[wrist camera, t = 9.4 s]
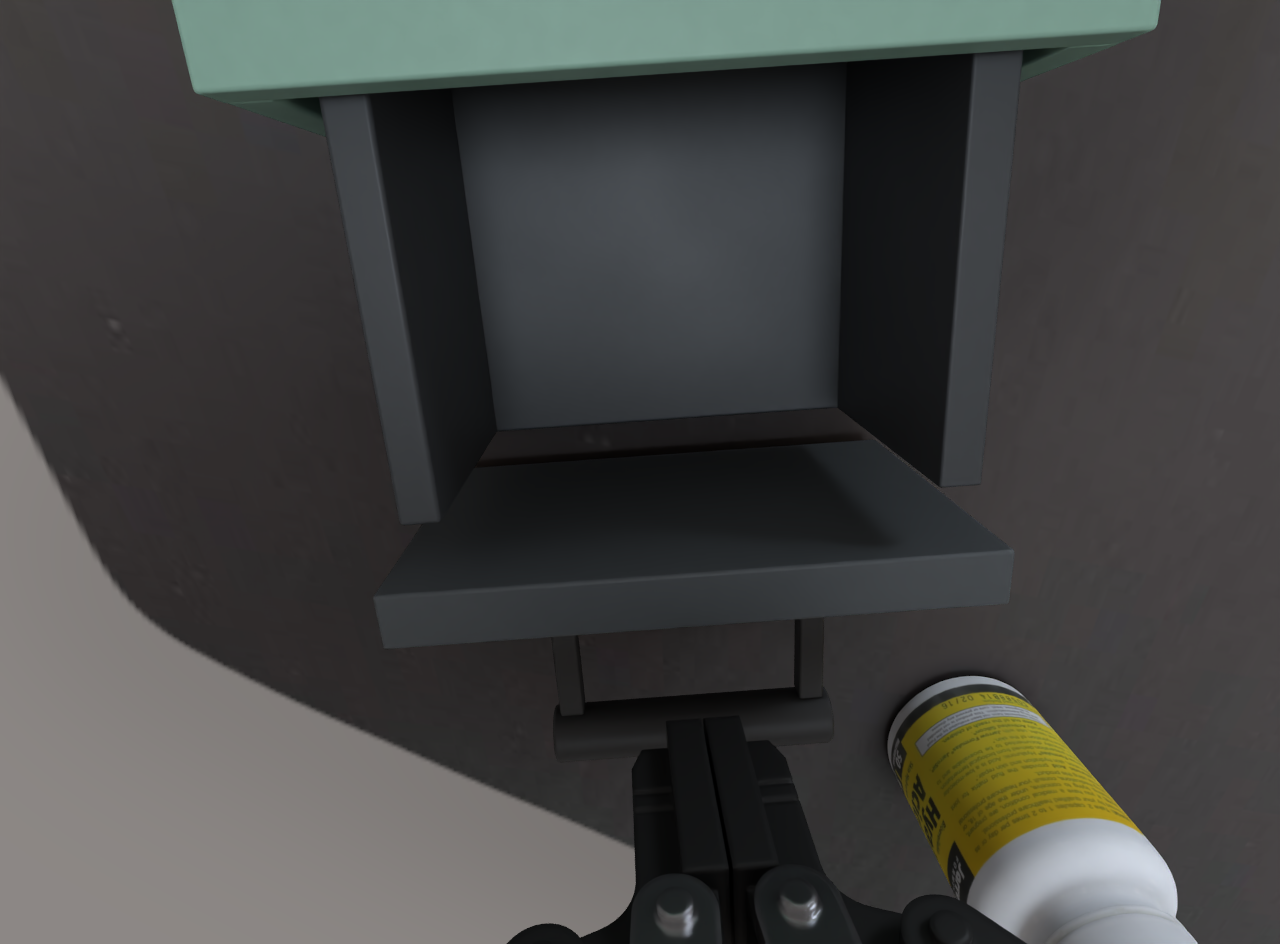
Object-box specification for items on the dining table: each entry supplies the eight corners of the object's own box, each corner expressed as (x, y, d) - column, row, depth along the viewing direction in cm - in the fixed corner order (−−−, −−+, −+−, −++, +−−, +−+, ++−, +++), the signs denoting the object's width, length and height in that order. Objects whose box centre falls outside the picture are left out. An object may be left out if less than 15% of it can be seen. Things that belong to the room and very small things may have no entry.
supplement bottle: (856, 717, 25) (997, 1000, 16) (995, 644, 24) (1229, 897, 15) (920, 815, 27) (1083, 1126, 17) (1052, 750, 26) (1297, 1039, 17)
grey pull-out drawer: (866, 628, 23) (985, 816, 15) (488, 656, 23) (426, 858, 15) (899, -101, 16) (1128, -375, 9) (375, -68, 16) (176, -315, 9)
